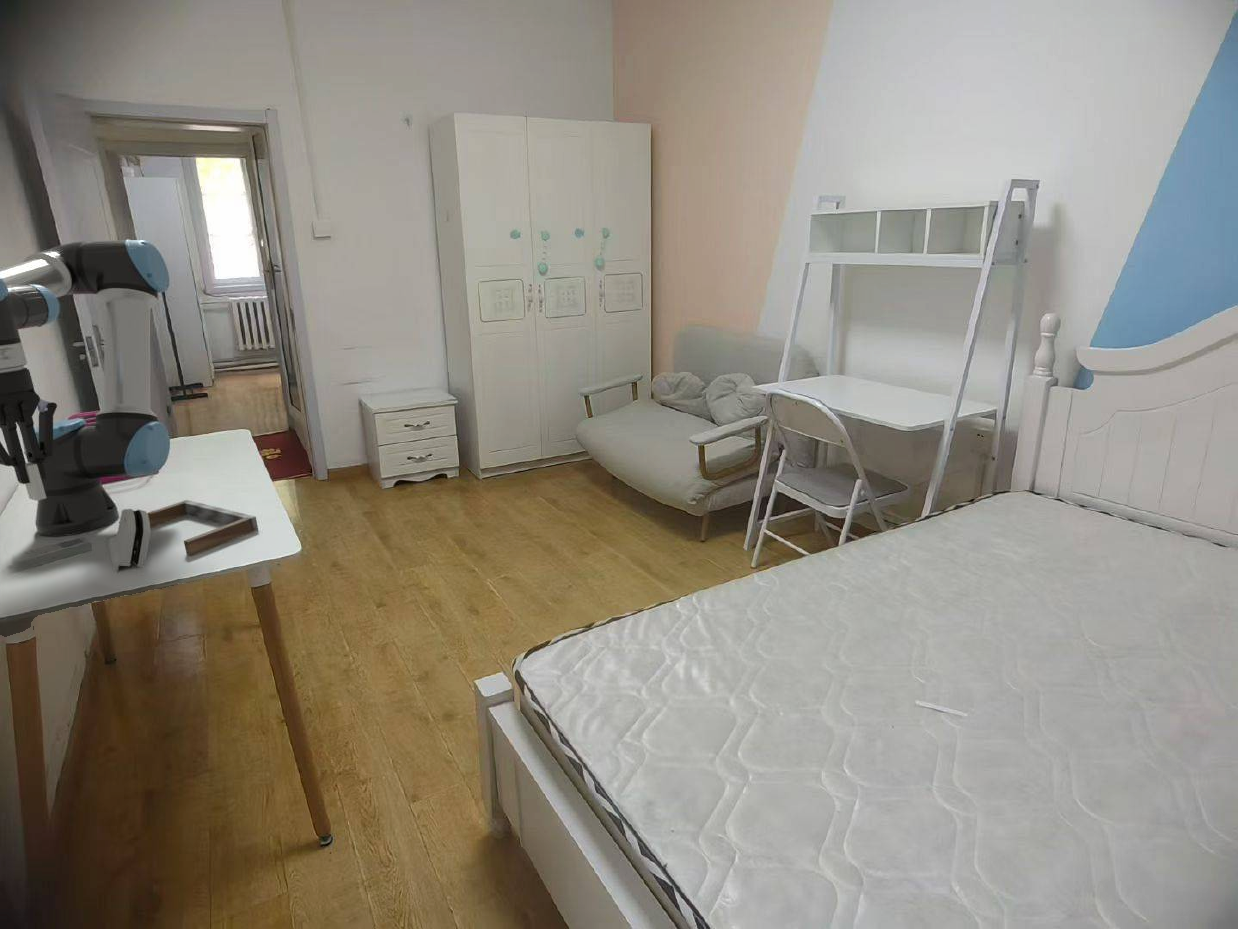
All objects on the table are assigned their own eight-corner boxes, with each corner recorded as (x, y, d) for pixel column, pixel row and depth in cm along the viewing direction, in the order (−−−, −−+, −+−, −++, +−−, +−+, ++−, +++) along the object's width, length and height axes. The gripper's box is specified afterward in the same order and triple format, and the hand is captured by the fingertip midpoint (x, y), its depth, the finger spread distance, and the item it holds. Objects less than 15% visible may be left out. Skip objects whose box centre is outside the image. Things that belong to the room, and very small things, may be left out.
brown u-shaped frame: (122, 535, 159) (118, 522, 158) (189, 511, 171) (186, 499, 170) (191, 555, 147) (188, 542, 146) (258, 529, 159) (255, 516, 158)
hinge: (108, 546, 153) (116, 500, 152) (135, 547, 156) (143, 502, 155) (114, 573, 140) (123, 523, 139) (143, 574, 143) (152, 525, 142)
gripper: (-36, 377, 119) (5, 513, 126) (54, 364, 130) (88, 490, 137) (-57, 374, 123) (-15, 507, 130) (33, 362, 134) (67, 484, 141)
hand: (37, 498), depth 133 cm, fingers closed
